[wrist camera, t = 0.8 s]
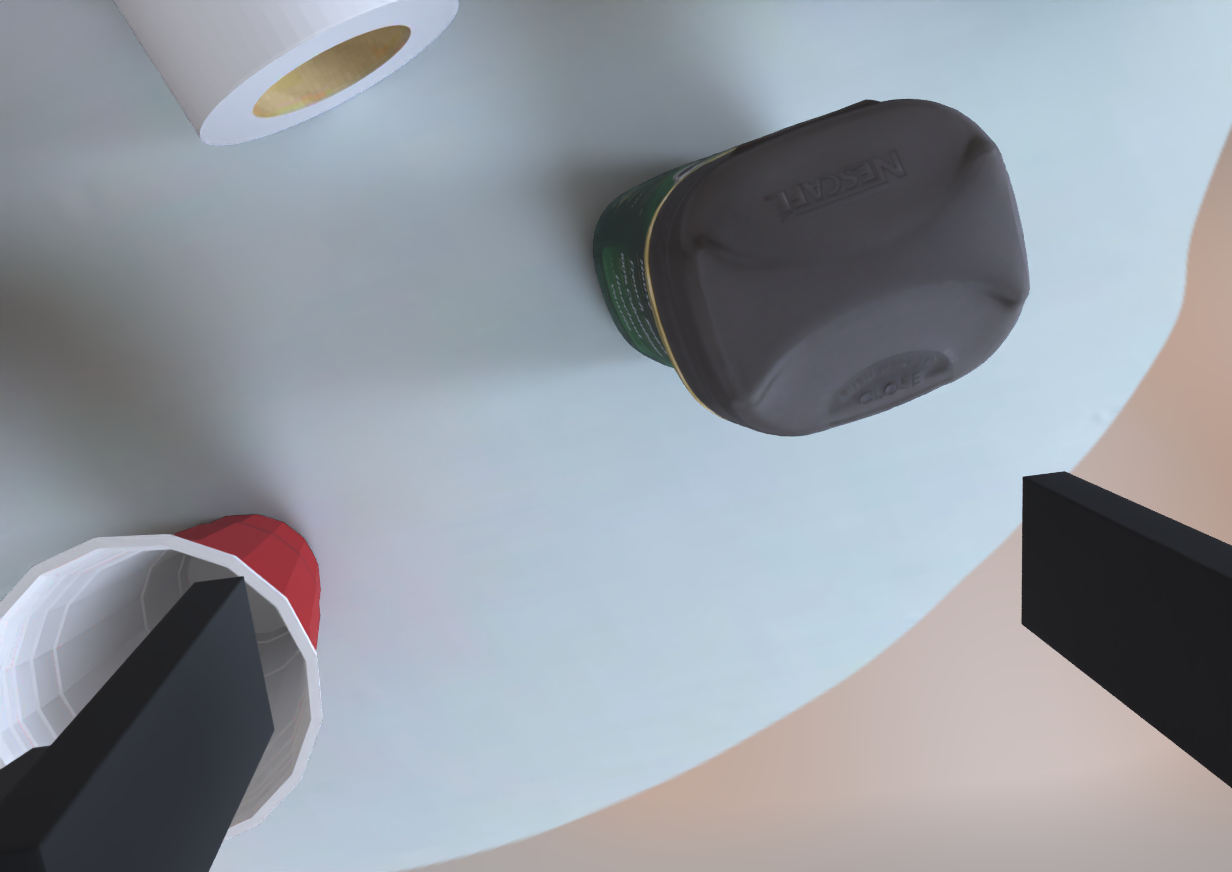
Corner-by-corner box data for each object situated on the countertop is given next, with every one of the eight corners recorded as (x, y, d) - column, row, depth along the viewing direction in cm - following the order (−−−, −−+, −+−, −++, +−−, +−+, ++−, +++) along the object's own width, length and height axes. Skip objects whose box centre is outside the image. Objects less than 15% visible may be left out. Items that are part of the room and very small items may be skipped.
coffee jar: (632, 382, 41) (730, 498, 23) (569, 207, 39) (622, 181, 21) (836, 306, 41) (1093, 360, 23) (783, 129, 39) (1019, 36, 21)
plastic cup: (266, 401, 39) (162, 470, 27) (425, 592, 42) (392, 729, 30) (63, 550, 39) (-126, 681, 28) (233, 730, 42) (126, 919, 30)
